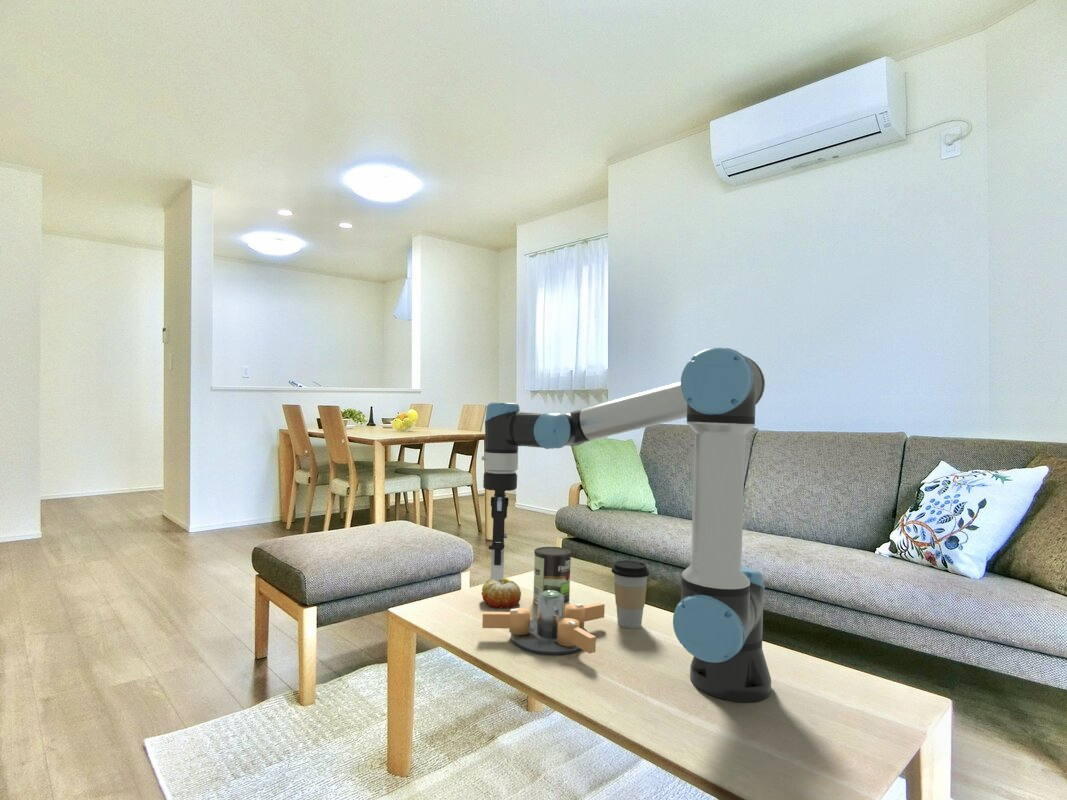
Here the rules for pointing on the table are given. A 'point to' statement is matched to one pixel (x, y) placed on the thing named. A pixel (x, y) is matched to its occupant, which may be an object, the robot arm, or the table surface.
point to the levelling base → (541, 643)
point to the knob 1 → (509, 620)
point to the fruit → (501, 593)
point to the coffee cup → (630, 591)
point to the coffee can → (552, 571)
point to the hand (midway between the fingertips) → (497, 573)
